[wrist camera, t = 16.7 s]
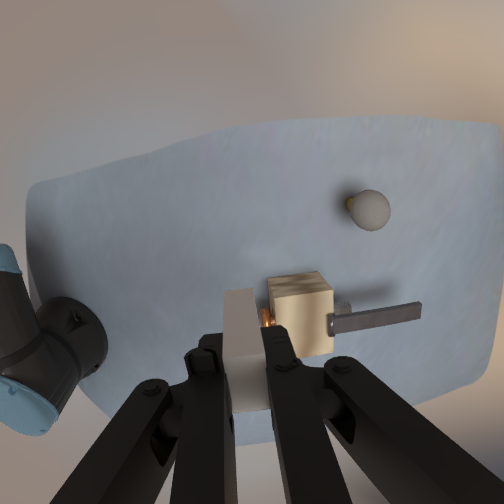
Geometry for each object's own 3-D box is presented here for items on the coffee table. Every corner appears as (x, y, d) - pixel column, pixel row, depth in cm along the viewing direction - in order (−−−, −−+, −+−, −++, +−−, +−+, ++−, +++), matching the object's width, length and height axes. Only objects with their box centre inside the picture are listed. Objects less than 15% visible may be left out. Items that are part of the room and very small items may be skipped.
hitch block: (272, 334, 52) (279, 361, 44) (267, 278, 49) (274, 298, 41) (319, 327, 52) (333, 352, 44) (318, 271, 49) (333, 289, 42)
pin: (261, 327, 48) (264, 340, 44) (259, 304, 47) (261, 315, 43) (344, 315, 49) (353, 326, 45) (344, 292, 48) (353, 302, 44)
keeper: (326, 333, 43) (328, 337, 42) (326, 313, 42) (328, 317, 41) (417, 317, 43) (420, 321, 42) (418, 298, 42) (422, 301, 41)
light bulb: (345, 228, 48) (371, 242, 38) (328, 198, 47) (352, 205, 37) (372, 210, 48) (403, 220, 38) (357, 180, 46) (386, 183, 37)
